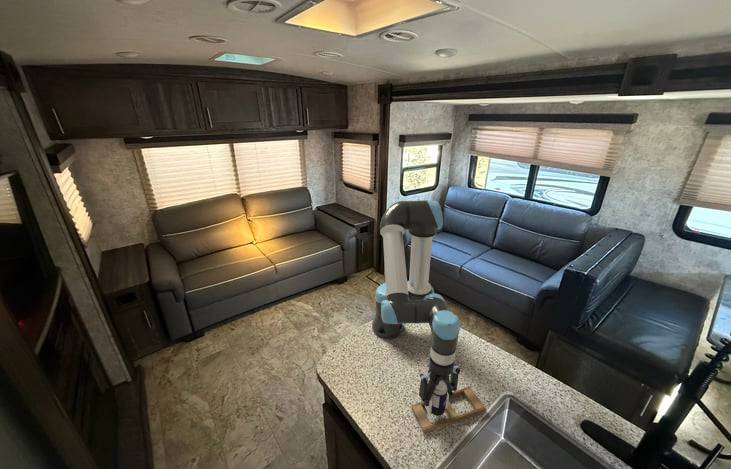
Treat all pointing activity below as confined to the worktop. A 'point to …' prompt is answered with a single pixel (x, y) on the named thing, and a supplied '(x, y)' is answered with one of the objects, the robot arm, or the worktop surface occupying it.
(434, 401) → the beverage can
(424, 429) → the wooden frame
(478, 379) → the worktop surface
